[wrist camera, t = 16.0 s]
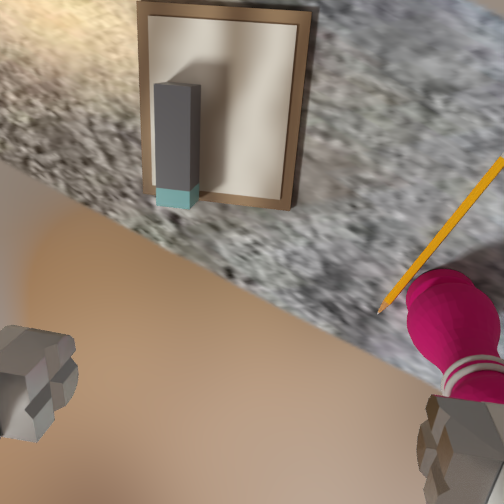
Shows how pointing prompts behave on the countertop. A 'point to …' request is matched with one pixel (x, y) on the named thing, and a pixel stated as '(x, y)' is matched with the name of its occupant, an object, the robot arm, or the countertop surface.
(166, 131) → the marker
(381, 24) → the countertop surface
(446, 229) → the pencil
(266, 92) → the board
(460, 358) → the pepper mill
